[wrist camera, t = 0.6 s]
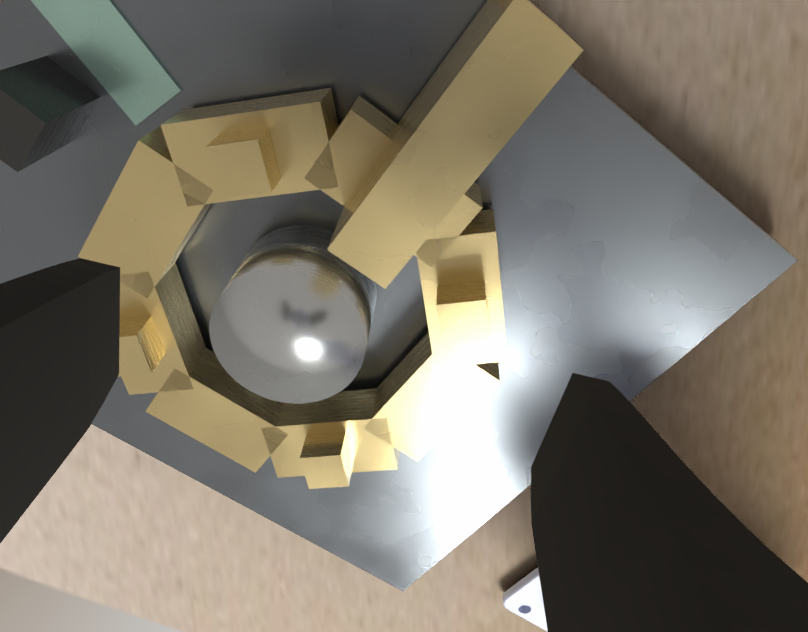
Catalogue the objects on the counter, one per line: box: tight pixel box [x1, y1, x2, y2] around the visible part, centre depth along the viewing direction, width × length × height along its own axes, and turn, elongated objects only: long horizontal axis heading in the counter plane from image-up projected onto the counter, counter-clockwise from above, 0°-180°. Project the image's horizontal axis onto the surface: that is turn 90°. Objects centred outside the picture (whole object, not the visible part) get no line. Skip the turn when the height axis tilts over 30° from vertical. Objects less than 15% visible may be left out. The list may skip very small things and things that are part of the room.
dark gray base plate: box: [0, 0, 798, 591], centre depth 19 cm, size 20×18×4 cm
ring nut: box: [78, 0, 583, 489], centre depth 16 cm, size 15×11×4 cm
